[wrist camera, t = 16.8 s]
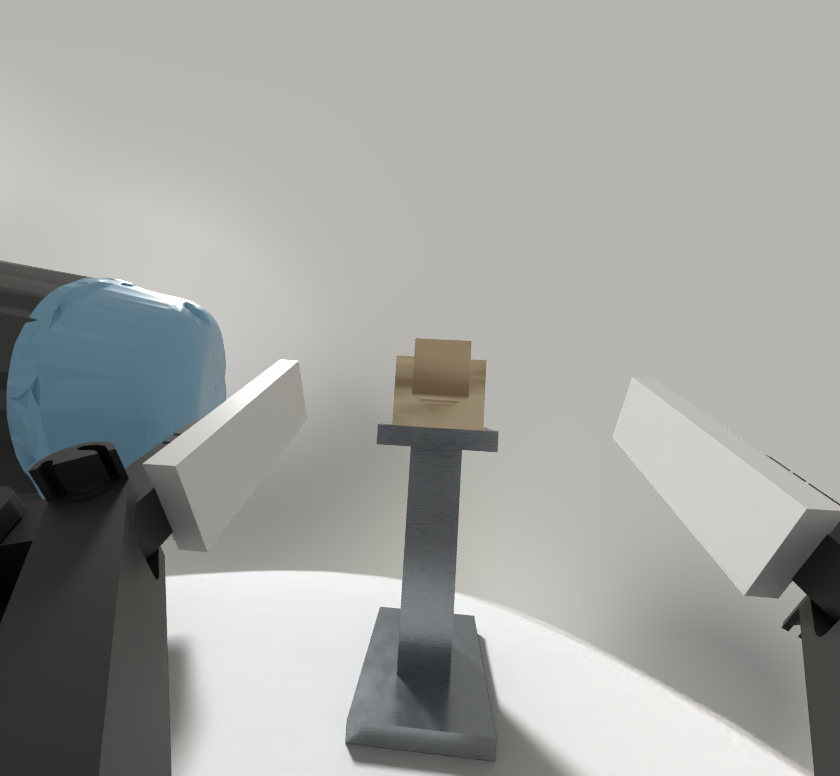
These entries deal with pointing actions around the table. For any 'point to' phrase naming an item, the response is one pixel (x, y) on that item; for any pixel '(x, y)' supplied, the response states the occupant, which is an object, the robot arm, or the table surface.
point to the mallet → (440, 386)
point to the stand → (427, 619)
